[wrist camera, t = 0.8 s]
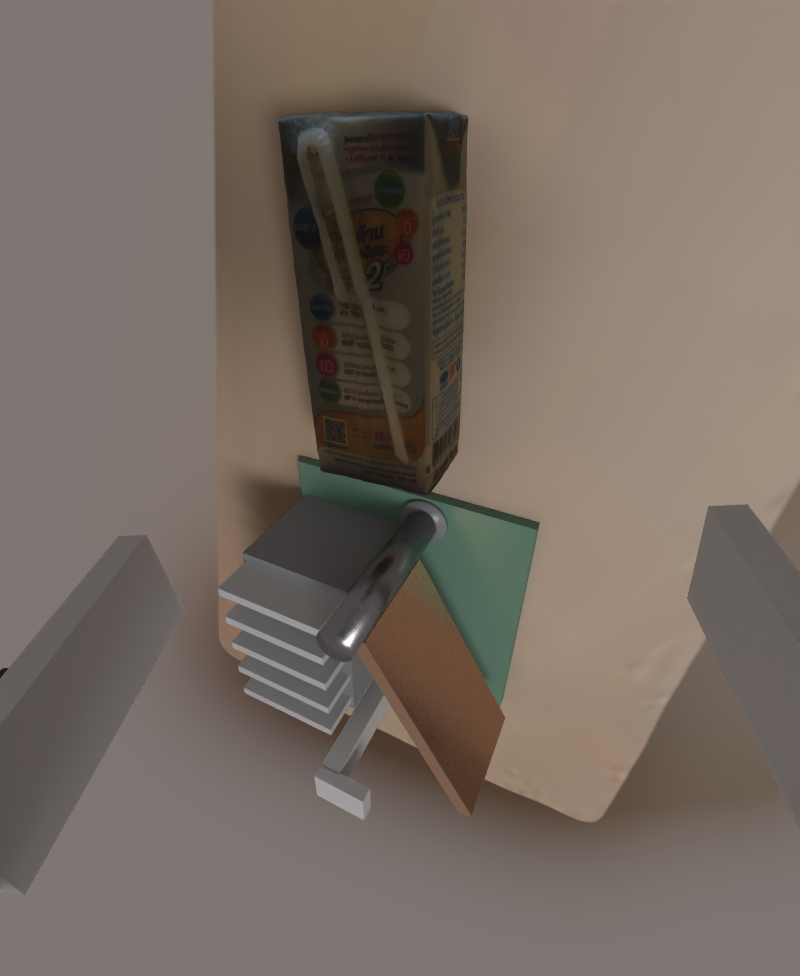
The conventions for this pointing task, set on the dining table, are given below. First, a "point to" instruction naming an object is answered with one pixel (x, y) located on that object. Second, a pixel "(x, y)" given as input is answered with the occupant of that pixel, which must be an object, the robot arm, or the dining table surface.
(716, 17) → the dining table surface
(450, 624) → the hinge
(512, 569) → the heat sink
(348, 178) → the beverage carton
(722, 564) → the robot arm
